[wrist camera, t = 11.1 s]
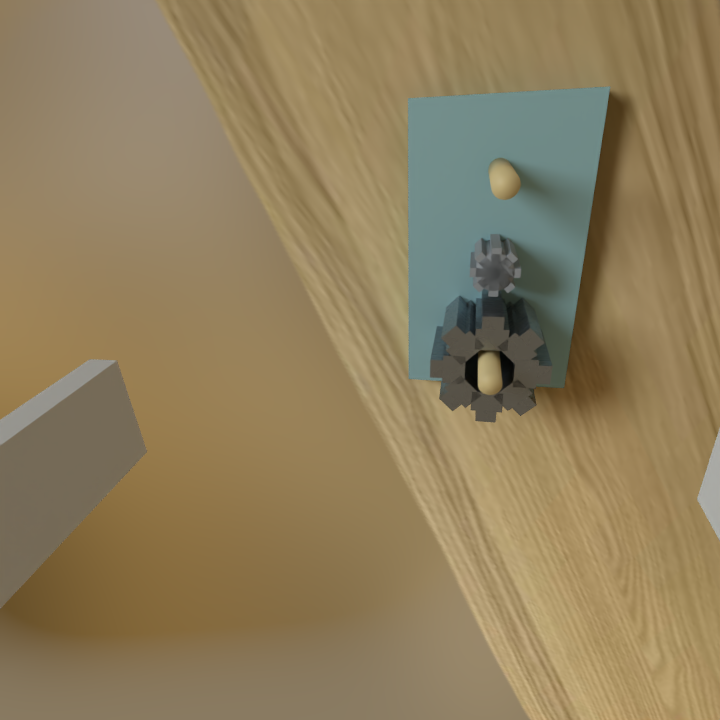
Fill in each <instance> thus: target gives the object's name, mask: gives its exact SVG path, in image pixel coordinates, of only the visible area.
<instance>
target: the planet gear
mask: <svg viewBox="0 0 720 720" xmlns="http://www.w3.org/2000/svg"><path fill="white" fill-rule="evenodd" d="M480 350H495V351H500V363H501V374H502V388H501V390H500V391H499V392H498V393H496V394H494V395H487V394H484V393H482V392H481V391H480V390H479V388H478V354H477V352H478V351H480ZM552 367H553V366H552V362H551V359H550V356H549V352H548V349H547V346H546V342H545V339H544V336H543V332H542V330H541V329H540V325H539V322H538V319H537V315H536V312H535V309H534V308H533V307H532V306H531V305H530V304H529V303H528V302H527V301H526V300H525V299H524V298H523V297H522V298H521V299H520V300H518V301H517V302H516V303H515V304H512V303H511V301H510V302H508V303H507V304H506V303H505V299H502V294H501V290H499V291H498V297H491V296H488V290H486V289H483V290H482V294H481V298H476V305H475V304H474V303H473V302H472V301H471V300H470V301H469V302H468V303H466V302H465V301H464V300H463V299H462V298H461V297H460V296H458V297H457V298H456V299H455V300H454V301H452V302H451V303H450V304H449V305H448V306H447V307H446V311H445V317H444V323H443V326H437V328H436V334H435V339H434V344H433V349H432V354H431V359H430V377H431V378H442V382H441V389H440V397H439V399H440V400H441V401H442V402H444V403H445V404H446V405H447V406H448V407H449V408H450V409H451V410H452V411H453V410H455V409H456V408H457V407H459V406H460V405H461V404H462V405H463V406H464V407H465V408H466V407H467V406H468V405H470V404H471V410H476V421H483V422H495V420H496V412H502V406H503V407H504V408H505V409H506V410H510V409H511V408H513V409H514V410H515V411H516V412H517V413H518V414H519V415H520V416H521V415H523V414H524V413H526V412H527V411H529V410H530V409H531V408H533V407H534V406H536V400H535V395H534V390H533V388H534V389H536V384H549V385H550V381H551V374H552Z"/></svg>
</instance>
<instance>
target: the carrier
mask: <svg viewBox="0 0 720 720" xmlns="http://www.w3.org/2000/svg"><path fill="white" fill-rule="evenodd" d="M609 91H610V87H595V88H578V89H561V90H543V91H526V92H509V93H492V94H475V95H458V96H441V97H424V98H408V227H409V379H419V380H436V381H442V378H431V377H430V359H431V354H432V349H433V344H434V339H435V334H436V328H437V326H443V323H444V317H445V311H446V307H447V306H448V305H449V304H450V303H451V302H452V301H454V300H455V299H456V298H457V297H458V296H460V297H461V298H462V299H463V300H464V301H465V302H466V303H468V302H469V301H470V300H471V301H472V302H473V303H474V304H475V305H476V298H481V294H482V290H483V289H486V290H488V296H491V297H498V291H499V290H501V294H502V299H505V303H506V304H507V303H508V302H510V301H511V303H512V304H515V303H516V302H517V301H518V300H520V299H521V298H522V297H523V298H524V299H525V300H526V301H527V302H528V303H529V304H530V305H531V306H532V307H533V308H534V309H535V312H536V315H537V319H538V322H539V325H540V329H541V330H542V332H543V336H544V339H545V342H546V346H547V349H548V352H549V356H550V359H551V362H552V366H553V367H552V374H551V381H550V385H549V384H536V386H537V387H554V388H564V385H565V379H566V372H567V366H568V359H569V352H570V346H571V339H572V333H573V326H574V320H575V313H576V307H577V300H578V294H579V287H580V281H581V274H582V268H583V261H584V255H585V248H586V242H587V235H588V228H589V222H590V215H591V209H592V202H593V196H594V189H595V183H596V176H597V170H598V163H599V157H600V150H601V144H602V137H603V131H604V124H605V118H606V111H607V105H608V98H609ZM477 354H478V388H479V390H480V391H481V392H482V393H484V394H487V395H494V394H496V393H498V392H499V391H500V390H501V388H502V374H501V363H500V351H495V350H480V351H478V352H477Z"/></svg>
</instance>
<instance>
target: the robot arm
mask: <svg viewBox="0 0 720 720" xmlns="http://www.w3.org/2000/svg"><path fill="white" fill-rule="evenodd" d="M146 452H147V450H146V447H145V444H144V441H143V438H142V435H141V432H140V429H139V426H138V423H137V420H136V417H135V414H134V411H133V408H132V405H131V402H130V399H129V396H128V393H127V390H126V387H125V384H124V381H123V377H122V375H121V372H120V368H119V365H118V362H117V361H114V360H88V361H87V362H85V363H84V364H82V365H81V366H79V367H78V368H76V369H75V370H74V371H72V372H71V373H69V374H68V375H66V376H65V377H63V378H62V379H60V380H59V381H57V382H56V383H55V384H53V385H51V386H50V387H48V388H47V389H45V390H44V391H43V392H41V393H39V394H38V395H36V396H35V397H34V398H32V399H30V400H29V401H28V402H26V403H25V404H23V405H22V406H20V407H19V408H17V409H16V410H14V411H13V412H11V413H10V414H8V415H7V416H5V417H4V418H2V419H1V420H0V608H1V607H2V606H3V605H4V604H5V603H6V602H7V601H8V600H9V599H10V598H11V597H12V595H13V594H14V593H15V592H16V591H17V590H18V589H19V588H20V587H21V586H22V585H23V584H24V583H25V582H26V580H27V579H28V578H29V577H30V576H31V575H32V574H33V573H34V572H35V571H36V570H37V569H38V568H39V567H40V566H41V565H42V563H43V562H44V561H45V560H46V559H47V558H48V557H49V556H50V555H51V554H52V553H53V552H54V550H56V548H57V547H58V546H59V545H60V544H61V543H62V542H63V541H64V540H65V539H66V538H67V537H68V536H69V535H70V534H71V532H72V531H73V530H74V529H75V528H76V527H77V526H78V525H79V524H80V523H81V522H82V521H83V520H84V519H85V518H86V516H87V515H88V514H89V513H90V512H91V511H92V510H93V509H94V508H95V507H96V506H97V505H98V504H99V502H100V501H101V500H102V499H103V498H104V497H105V496H106V495H107V494H108V493H109V492H110V491H111V490H112V489H113V488H114V487H115V485H116V484H117V483H118V482H119V481H120V480H121V479H122V478H123V477H124V476H125V475H126V474H127V473H128V471H130V469H131V468H132V467H133V466H134V465H135V464H136V463H137V462H138V461H139V460H140V459H141V458H142V457H143V455H145V453H146ZM697 500H698V502H699V503H700V505H701V507H702V509H703V511H704V513H705V515H706V516H707V518H708V520H709V522H710V524H711V526H712V527H713V529H714V531H715V533H716V535H717V537H718V539H719V540H720V429H719V432H718V435H717V438H716V441H715V445H714V448H713V451H712V454H711V457H710V460H709V463H708V467H707V470H706V473H705V476H704V479H703V482H702V485H701V489H700V492H699V495H698V498H697Z"/></svg>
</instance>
